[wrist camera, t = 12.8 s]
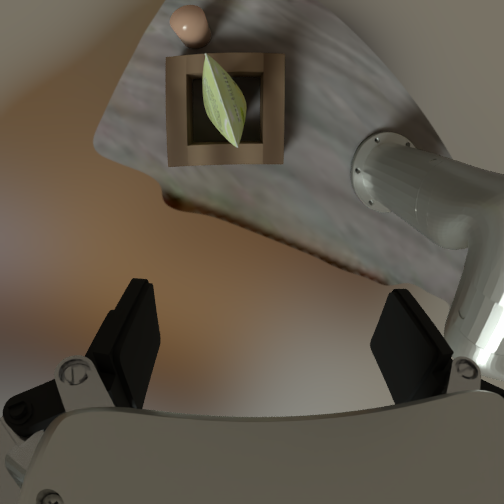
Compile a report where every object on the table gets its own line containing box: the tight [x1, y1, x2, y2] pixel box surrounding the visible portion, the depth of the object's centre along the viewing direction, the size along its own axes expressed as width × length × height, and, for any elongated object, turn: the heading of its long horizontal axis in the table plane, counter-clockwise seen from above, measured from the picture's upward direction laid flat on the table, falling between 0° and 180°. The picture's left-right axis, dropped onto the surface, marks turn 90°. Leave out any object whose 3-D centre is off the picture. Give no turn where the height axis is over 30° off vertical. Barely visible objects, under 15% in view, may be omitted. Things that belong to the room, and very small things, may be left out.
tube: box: [202, 53, 247, 148], centre depth 27 cm, size 6×5×20 cm
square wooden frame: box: [166, 53, 285, 167], centre depth 33 cm, size 14×14×5 cm
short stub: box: [170, 5, 211, 49], centre depth 27 cm, size 4×4×7 cm
